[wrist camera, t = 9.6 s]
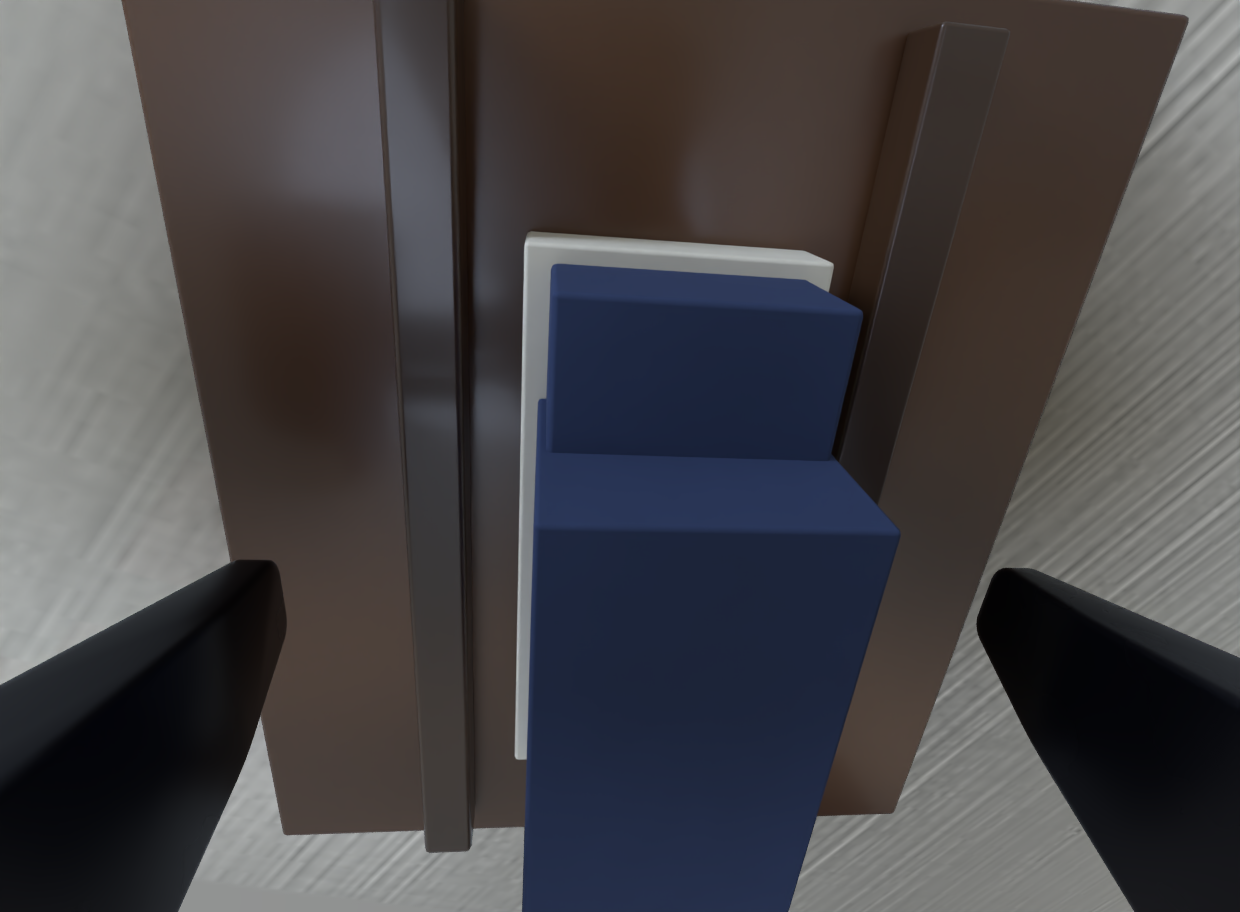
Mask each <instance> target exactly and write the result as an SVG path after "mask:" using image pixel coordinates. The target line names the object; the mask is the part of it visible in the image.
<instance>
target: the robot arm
mask: <svg viewBox="0 0 1240 912" xmlns="http://www.w3.org/2000/svg"><path fill="white" fill-rule="evenodd" d="M976 625H977V632H978V636H979V638H980V641H981V643H982V645H983V647H984V649H985V651H986V653H987V655H988V657H989V659H990V661H991V663H992V665H993V667H994V669H995V671H996V673H997V675H998V677H999V679H1000V681H1001V683H1002V685H1003V687H1004V689H1005V691H1006V693H1007V695H1008V697H1009V699H1010V701H1011V703H1012V705H1013V707H1014V710H1015V712H1016V714H1017V716H1018V718H1019V720H1020V722H1021V724H1022V726H1023V728H1024V729H1025V731H1026V733H1027V735H1028V737H1029V739H1030V741H1031V743H1032V744H1033V746H1034V748H1035V750H1036V751H1037V753H1038V755H1039V756H1040V758H1041V760H1042V762H1043V763H1044V765H1045V766H1046V768H1047V770H1048V771H1049V773H1050V775H1051V776H1052V778H1053V780H1054V781H1055V783H1056V784H1057V786H1058V788H1059V789H1060V791H1061V793H1062V794H1063V796H1064V798H1065V799H1066V801H1067V802H1068V804H1069V806H1070V807H1071V809H1072V811H1073V812H1074V814H1075V816H1076V817H1077V819H1078V820H1079V822H1080V824H1081V825H1082V827H1083V829H1084V830H1085V832H1086V834H1087V835H1088V837H1089V838H1090V840H1091V842H1092V843H1093V845H1094V847H1095V848H1096V850H1097V852H1098V853H1099V855H1100V856H1101V858H1102V860H1103V861H1104V863H1105V865H1106V866H1107V868H1108V870H1109V871H1110V873H1111V874H1112V876H1113V878H1114V879H1115V881H1116V883H1117V884H1118V886H1119V887H1120V889H1121V891H1122V892H1123V894H1124V896H1125V897H1126V899H1127V901H1128V902H1129V904H1130V905H1131V907H1132V909H1133V910H1134V912H1240V658H1239V657H1237V656H1234V655H1232V654H1230V653H1227V652H1225V651H1223V650H1220V649H1218V648H1216V647H1213V646H1211V645H1209V644H1206V643H1204V642H1202V641H1199V640H1197V639H1195V638H1192V637H1190V636H1188V635H1186V634H1183V633H1181V632H1179V631H1176V630H1174V629H1172V628H1169V627H1167V626H1165V625H1162V624H1160V623H1158V622H1155V621H1153V620H1151V619H1148V618H1146V617H1144V616H1141V615H1139V614H1137V613H1134V612H1132V611H1130V610H1127V609H1125V608H1123V607H1121V606H1118V605H1116V604H1114V603H1111V602H1109V601H1107V600H1104V599H1102V598H1100V597H1097V596H1095V595H1093V594H1090V593H1088V592H1086V591H1083V590H1081V589H1079V588H1076V587H1074V586H1072V585H1069V584H1067V583H1065V582H1062V581H1060V580H1058V579H1056V578H1053V577H1051V576H1049V575H1046V574H1044V573H1042V572H1039V571H1037V570H1034V569H1030V568H1003V569H1000V570H998V571H997V572H996V573H995V574H994V575H993V577H992V579H991V582H990V585H989V587H988V590H987V593H986V595H985V598H984V600H983V603H982V606H981V608H980V611H979V614H978V617H977V623H976ZM286 631H287V614H286V608H285V602H284V596H283V589H282V583H281V577H280V572H279V569H278V567H277V564H276V563H275V562H273V561H272V560H245V559H240V560H235V561H233V562H231V563H229V564H227V565H225V566H223V567H221V568H219V569H218V570H216V571H214V572H212V573H210V574H208V575H206V576H204V577H203V578H201V579H199V580H197V581H195V582H193V583H191V584H189V585H188V586H186V587H184V588H182V589H180V590H178V591H176V592H174V593H173V594H171V595H169V596H167V597H165V598H163V599H161V600H159V601H157V602H156V603H154V604H152V605H150V606H148V607H146V608H144V609H142V610H141V611H139V612H137V613H135V614H133V615H131V616H129V617H127V618H126V619H124V620H122V621H120V622H118V623H116V624H114V625H112V626H110V627H109V628H107V629H105V630H103V631H101V632H99V633H97V634H95V635H94V636H92V637H90V638H88V639H86V640H84V641H82V642H80V643H79V644H77V645H75V646H73V647H71V648H69V649H67V650H65V651H63V652H62V653H60V654H58V655H56V656H54V657H52V658H50V659H48V660H47V661H45V662H43V663H41V664H39V665H37V666H35V667H33V668H32V669H30V670H28V671H26V672H24V673H22V674H20V675H18V676H17V677H15V678H13V679H11V680H9V681H7V682H5V683H3V684H1V685H0V912H178V910H179V908H180V906H181V904H182V902H183V899H184V897H185V895H186V893H187V890H188V888H189V886H190V884H191V882H192V879H193V877H194V875H195V873H196V870H197V868H198V866H199V864H200V862H201V859H202V857H203V855H204V853H205V850H206V848H207V846H208V844H209V842H210V839H211V837H212V835H213V833H214V830H215V828H216V826H217V824H218V822H219V819H220V817H221V815H222V813H223V810H224V808H225V806H226V804H227V802H228V799H229V797H230V795H231V793H232V790H233V788H234V786H235V784H236V782H237V779H238V777H239V774H240V772H241V770H242V767H243V765H244V762H245V760H246V757H247V754H248V752H249V749H250V746H251V743H252V740H253V737H254V734H255V731H256V728H257V725H258V721H259V718H260V715H261V712H262V709H263V706H264V703H265V699H266V696H267V693H268V690H269V687H270V684H271V681H272V678H273V674H274V671H275V668H276V665H277V662H278V659H279V656H280V653H281V649H282V646H283V643H284V640H285V636H286Z"/></svg>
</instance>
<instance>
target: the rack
mask: <svg viewBox="0 0 1240 912" xmlns="http://www.w3.org/2000/svg"><path fill="white" fill-rule="evenodd" d="M122 4H123V10H124V15H125V20H126V25H127V30H128V35H129V40H130V46H131V51H132V56H133V61H134V66H135V71H136V76H137V82H138V87H139V92H140V97H141V102H142V107H143V113H144V118H145V123H146V128H147V133H148V138H149V143H150V149H151V154H152V159H153V164H154V169H155V174H156V179H157V185H158V190H159V195H160V200H161V205H162V210H163V215H164V221H165V226H166V231H167V236H168V241H169V246H170V252H171V257H172V262H173V267H174V272H175V277H176V282H177V288H178V293H179V298H180V303H181V308H182V313H183V318H184V324H185V329H186V334H187V339H188V344H189V349H190V355H191V360H192V365H193V370H194V375H195V380H196V385H197V391H198V396H199V401H200V406H201V411H202V416H203V421H204V427H205V432H206V437H207V442H208V447H209V452H210V458H211V463H212V468H213V473H214V478H215V483H216V488H217V494H218V499H219V504H220V509H221V514H222V519H223V524H224V530H225V535H226V540H227V545H228V550H229V555H230V561H231V562H233V561H235V560H240V559H245V560H272V561H273V562H275V563H276V564H277V567H278V569H279V572H280V577H281V583H282V589H283V596H284V602H285V608H286V614H287V631H286V636H285V640H284V643H283V646H282V649H281V653H280V656H279V659H278V662H277V665H276V668H275V671H274V674H273V678H272V681H271V684H270V687H269V690H268V693H267V696H266V699H265V703H264V706H263V709H262V712H261V720H262V725H263V730H264V736H265V741H266V746H267V751H268V756H269V761H270V767H271V772H272V777H273V782H274V787H275V792H276V797H277V803H278V808H279V813H280V818H281V823H282V828H283V833H284V834H285V835H310V834H338V833H365V832H393V831H421V830H424V835H425V848H426V851H427V852H429V853H437V852H462V851H468V850H469V849H470V847H471V845H472V836H473V829H476V828H504V827H525V797H526V763H527V759H523V760H518V759H516V757H515V714H516V661H517V607H518V554H519V500H520V447H521V393H522V340H523V286H524V245H525V240H526V236H527V234H528V232H531V231H534V232H548V233H562V234H576V235H590V236H604V237H618V238H632V239H646V240H661V241H675V242H689V243H703V244H717V245H731V246H745V247H759V248H773V249H787V250H801V251H806V252H808V253H810V254H813V255H815V256H817V257H820V258H822V259H824V260H827V261H829V262H831V263H833V265H834V269H833V274H832V279H831V283H830V288H829V293H831V294H832V295H834V296H836V297H838V298H840V299H842V300H843V301H845V302H847V303H849V304H851V305H853V306H854V307H856V308H858V309H860V310H862V312H863V320H862V324H861V328H860V333H859V337H858V341H857V345H856V350H855V354H854V358H853V363H852V367H851V371H850V375H849V380H848V384H847V388H846V392H845V397H844V401H843V405H842V409H841V414H840V418H839V422H838V427H837V431H836V435H835V439H834V444H833V448H832V452H831V454H832V455H833V457H834V458H835V459H836V460H837V461H838V462H839V463H840V464H841V465H842V466H843V468H844V469H845V470H846V471H847V472H848V473H849V474H850V475H851V476H852V478H853V479H854V480H855V481H856V482H857V483H858V484H859V485H860V486H861V488H862V489H863V490H864V491H865V492H866V493H867V494H868V495H869V496H870V497H871V499H872V500H873V501H874V502H875V503H876V504H877V505H878V506H879V507H880V509H881V510H882V511H883V512H884V513H885V514H886V515H887V516H888V517H889V518H890V520H891V521H892V522H893V523H894V524H895V525H896V526H897V527H898V528H899V530H900V532H901V537H900V540H899V544H898V547H897V550H896V554H895V557H894V560H893V564H892V567H891V570H890V574H889V577H888V580H887V584H886V587H885V590H884V594H883V597H882V600H881V604H880V607H879V610H878V614H877V617H876V620H875V624H874V627H873V631H872V634H871V637H870V641H869V644H868V647H867V651H866V654H865V657H864V661H863V664H862V667H861V671H860V674H859V677H858V681H857V684H856V687H855V691H854V694H853V697H852V701H851V704H850V707H849V711H848V714H847V717H846V721H845V724H844V727H843V731H842V734H841V737H840V741H839V744H838V747H837V751H836V754H835V757H834V761H833V764H832V767H831V771H830V774H829V777H828V781H827V784H826V787H825V791H824V794H823V797H822V801H821V804H820V807H819V811H818V814H817V816H837V815H865V814H891V813H893V812H894V811H895V808H896V806H897V803H898V800H899V797H900V795H901V792H902V789H903V787H904V784H905V781H906V779H907V776H908V773H909V771H910V768H911V765H912V763H913V760H914V757H915V755H916V752H917V749H918V746H919V744H920V741H921V738H922V736H923V733H924V730H925V728H926V725H927V722H928V720H929V717H930V714H931V712H932V709H933V706H934V704H935V701H936V698H937V695H938V693H939V690H940V687H941V685H942V682H943V679H944V677H945V674H946V671H947V669H948V666H949V663H950V661H951V658H952V655H953V653H954V650H955V647H956V644H957V642H958V639H959V636H960V634H961V631H962V628H963V626H964V623H965V620H966V618H967V615H968V612H969V610H970V607H971V604H972V602H973V599H974V596H975V593H976V591H977V588H978V585H979V583H980V580H981V577H982V575H983V572H984V569H985V567H986V564H987V561H988V559H989V556H990V553H991V551H992V548H993V545H994V543H995V540H996V537H997V534H998V532H999V529H1000V526H1001V524H1002V521H1003V518H1004V516H1005V513H1006V510H1007V508H1008V505H1009V502H1010V500H1011V497H1012V494H1013V492H1014V489H1015V486H1016V483H1017V481H1018V478H1019V475H1020V473H1021V470H1022V467H1023V465H1024V462H1025V459H1026V457H1027V454H1028V451H1029V449H1030V446H1031V443H1032V441H1033V438H1034V435H1035V432H1036V430H1037V427H1038V424H1039V422H1040V419H1041V416H1042V414H1043V411H1044V408H1045V406H1046V403H1047V400H1048V398H1049V395H1050V392H1051V390H1052V387H1053V384H1054V381H1055V379H1056V376H1057V373H1058V371H1059V368H1060V365H1061V363H1062V360H1063V357H1064V355H1065V352H1066V349H1067V347H1068V344H1069V341H1070V339H1071V336H1072V333H1073V330H1074V328H1075V325H1076V322H1077V320H1078V317H1079V314H1080V312H1081V309H1082V306H1083V304H1084V301H1085V298H1086V296H1087V293H1088V290H1089V288H1090V285H1091V282H1092V280H1093V277H1094V274H1095V271H1096V269H1097V266H1098V263H1099V261H1100V258H1101V255H1102V253H1103V250H1104V247H1105V245H1106V242H1107V239H1108V237H1109V234H1110V231H1111V229H1112V226H1113V223H1114V220H1115V218H1116V215H1117V212H1118V210H1119V207H1120V204H1121V202H1122V199H1123V196H1124V194H1125V191H1126V188H1127V186H1128V183H1129V180H1130V178H1131V175H1132V172H1133V169H1134V167H1135V164H1136V161H1137V159H1138V156H1139V153H1140V151H1141V148H1142V145H1143V143H1144V140H1145V137H1146V135H1147V132H1148V129H1149V127H1150V124H1151V121H1152V118H1153V116H1154V113H1155V110H1156V108H1157V105H1158V102H1159V100H1160V97H1161V94H1162V92H1163V89H1164V86H1165V84H1166V81H1167V78H1168V76H1169V73H1170V70H1171V67H1172V65H1173V62H1174V59H1175V57H1176V54H1177V51H1178V49H1179V46H1180V43H1181V41H1182V38H1183V35H1184V33H1185V30H1186V27H1187V25H1188V17H1187V16H1185V15H1180V14H1173V13H1165V12H1157V11H1149V10H1141V9H1134V8H1126V7H1118V6H1110V5H1102V4H1095V3H1087V2H1079V1H1071V0H122Z"/></svg>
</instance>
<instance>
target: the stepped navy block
mask: <svg viewBox="0 0 1240 912" xmlns="http://www.w3.org/2000/svg"><path fill="white" fill-rule="evenodd" d="M833 269H834V265H833V263H831V262H829V261H827V260H824V259H822V258H820V257H817V256H815V255H813V254H810V253H808V252H806V251H801V250H787V249H773V248H759V247H745V246H731V245H717V244H703V243H689V242H675V241H661V240H646V239H632V238H618V237H604V236H590V235H576V234H562V233H548V232H534V231H531V232H528V234H527V236H526V240H525V245H524V286H523V340H522V393H521V447H520V500H519V554H518V607H517V661H516V714H515V757H516V759H518V760H523V759H527V763H526V797H525V831H524V866H523V900H522V912H788V911H789V908H790V904H791V901H792V898H793V894H794V891H795V888H796V884H797V881H798V877H799V874H800V871H801V867H802V864H803V861H804V857H805V854H806V851H807V847H808V844H809V841H810V837H811V834H812V831H813V827H814V824H815V821H816V817H817V814H818V811H819V807H820V804H821V801H822V797H823V794H824V791H825V787H826V784H827V781H828V777H829V774H830V771H831V767H832V764H833V761H834V757H835V754H836V751H837V747H838V744H839V741H840V737H841V734H842V731H843V727H844V724H845V721H846V717H847V714H848V711H849V707H850V704H851V701H852V697H853V694H854V691H855V687H856V684H857V681H858V677H859V674H860V671H861V667H862V664H863V661H864V657H865V654H866V651H867V647H868V644H869V641H870V637H871V634H872V631H873V627H874V624H875V620H876V617H877V614H878V610H879V607H880V604H881V600H882V597H883V594H884V590H885V587H886V584H887V580H888V577H889V574H890V570H891V567H892V564H893V560H894V557H895V554H896V550H897V547H898V544H899V540H900V537H901V532H900V530H899V528H898V527H897V526H896V525H895V524H894V523H893V522H892V521H891V520H890V518H889V517H888V516H887V515H886V514H885V513H884V512H883V511H882V510H881V509H880V507H879V506H878V505H877V504H876V503H875V502H874V501H873V500H872V499H871V497H870V496H869V495H868V494H867V493H866V492H865V491H864V490H863V489H862V488H861V486H860V485H859V484H858V483H857V482H856V481H855V480H854V479H853V478H852V476H851V475H850V474H849V473H848V472H847V471H846V470H845V469H844V468H843V466H842V465H841V464H840V463H839V462H838V461H837V460H836V459H835V458H834V457H833V455H832V454H831V452H832V448H833V444H834V439H835V435H836V431H837V427H838V422H839V418H840V414H841V409H842V405H843V401H844V397H845V392H846V388H847V384H848V380H849V375H850V371H851V367H852V363H853V358H854V354H855V350H856V345H857V341H858V337H859V333H860V328H861V324H862V320H863V312H862V310H860V309H858V308H856V307H854V306H853V305H851V304H849V303H847V302H845V301H843V300H842V299H840V298H838V297H836V296H834V295H832V294H831V293H829V288H830V283H831V279H832V274H833Z"/></svg>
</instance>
